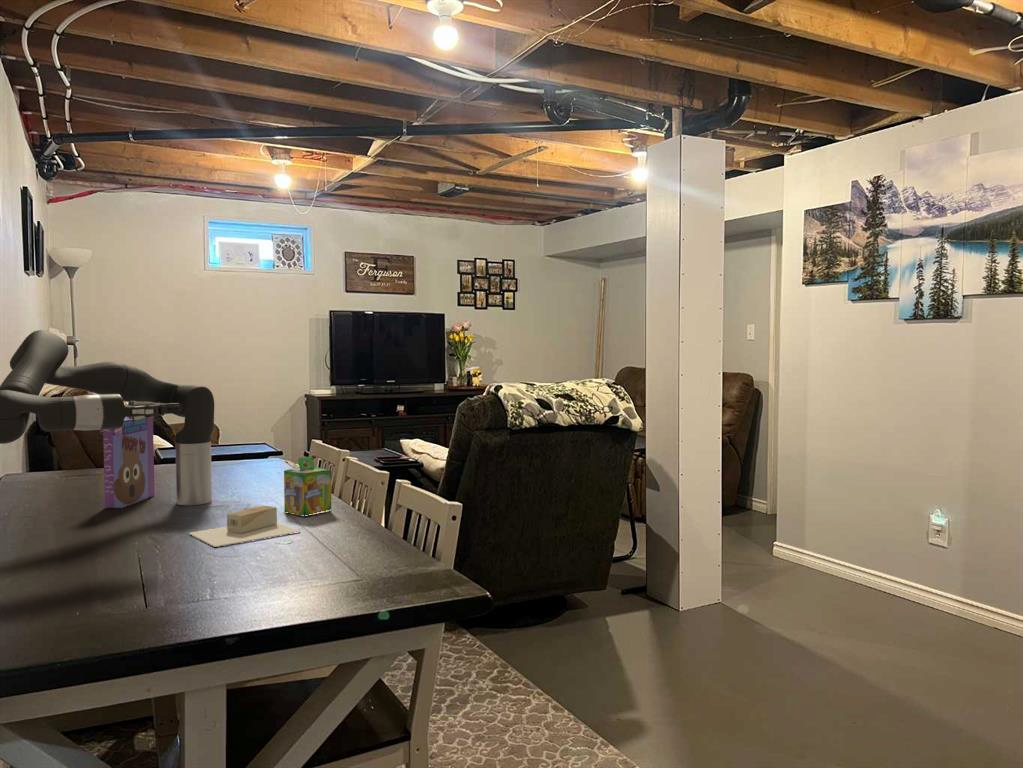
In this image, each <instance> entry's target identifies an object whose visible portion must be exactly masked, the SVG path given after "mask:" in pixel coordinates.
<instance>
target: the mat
mask: <svg viewBox="0 0 1023 768" xmlns="http://www.w3.org/2000/svg"><path fill="white" fill-rule="evenodd" d="M299 531H300V530H298V529H294V528H293V527H290V526H288V525H284V524H282V523H280V522H277V524H275V525H272V526H268V527H264V528H260V529H257V530H253V531H249V532H245V533H234V532H229V531H227V526H223V527H217V528H212V529H205V530H203V529H202V530H198V531H192V532H191V531H190V532H188V535H189V536H191V535H192V536H191V537H193V538H195V539H197V540H198V539H199V540H198V541H200V540H201V542H202V541H203V543H204V542H205V544H206V543H207V545H208V544H209V545H208V546H210V545H211V547H212V546H213V547H212V548H214V547H218V548H221V547H220V546H224V545H229V546H231V545H230V544H235V545H237V544H236V543H241V542H246V543H248V542H247V541H252V540H258V539H263V540H265V539H264V538H269V537H274V538H276V537H275V536H280V535H285V534H290V533H294V532H299ZM280 537H281V536H280ZM269 539H270V538H269ZM258 541H259V540H258ZM252 542H253V541H252ZM241 544H242V543H241ZM224 547H225V546H224Z"/></svg>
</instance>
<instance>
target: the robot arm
mask: <svg viewBox="0 0 1023 768" xmlns="http://www.w3.org/2000/svg"><path fill="white" fill-rule="evenodd" d="M68 355H69V346H68V343H67V342H66V341H65V340H64V339H63V338H62V337H61V336H59V335H58V334H56V333H53V332H51V331H49V330H45V329H38V330H34V331H33V332H32V331H31V333H29V334H28V335H27V336H26V337H25V338H24V340H23V341H22V343H21V344H20V345H19V347H17V349H16V351H15V352H14V353H13V355H12V356H11V358H10V361H9V366H10V369H11V371H10V372H9V373H8V375H6V377H5V378H4V379H3V381H2V383H1V384H0V445H5V444H10V443H11V444H12V443H13V442H15V441H17V440H19V439H20V438H21V437H22V436H23V435H24V434H25V432H26V429H27V426H28V424H29V420H30V415H31V414H34V415H36V416H37V421H38V425H39V427H40V429H41V430H42V431H44V432H62V431H64V432H65V431H98V430H99V431H100V430H103V429H116V428H121V427H122V426H123V424H124V419H125V418H127V417H129V419H132V420H140V419H142V418H153V419H154V418H155V417H163V416H165V415H175V416H177V417H181V418H184V424H183V427H182V428H181V429H180V430H179V431H178V430H177V432H175V436H174V439H175V440H174V441H175V442H174V443H175V485H176V486H175V487H176V488H175V492H176V493H175V497H176V499H175V501H176V502H175V503H176V505H179V506H198V505H204V504H205V503H206V504H209V503H212V501H213V499H212V497H213V495H212V491H213V490H212V485H213V484H212V441H211V439H212V434H213V431H214V427H215V399H214V394H213V392H212V391H211V390H210V388H208V387H207V386H204V385H196V384H195V385H194V384H192V385H191V384H178V383H173V382H172V383H171V382H167V381H164V380H159V379H157V378H156V377H154V376H152V375H150V373H147V372H146V371H144V370H143V369H140V368H138V367H134V366H131V365H129V364H125V363H122V362H118V361H103V362H102V361H101V362H96V363H91V364H84V365H78V366H77V365H76V366H73V365H64V362H65V360H66V359H67V357H68ZM46 384H47V385H53V386H59V387H64V388H65V387H66V388H70V389H76V390H80V391H85V392H88V393H93V394H83V395H75V396H56V397H55V396H54V397H53V396H52V397H50V396H43V395H40V393H41V392H42V390H43V388H44V385H46ZM125 402H126V403H128V404H124V403H125Z"/></svg>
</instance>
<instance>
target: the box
mask: <svg viewBox="0 0 1023 768" xmlns="http://www.w3.org/2000/svg"><path fill="white" fill-rule="evenodd" d="M277 511H278V510H277V507H276V506H272V505H271V506H269V505H260V506H256V507H251V508H247V509H243V510H238V511H233V512H230V513H227V514H226V527H227V531H229V532H234V533H245V532H249V531H253V530H257V529H260V528H264V527H268V526H272V525H275V524H277V523H278V517H277V516H278V512H277Z"/></svg>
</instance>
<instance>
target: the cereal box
mask: <svg viewBox="0 0 1023 768" xmlns="http://www.w3.org/2000/svg"><path fill="white" fill-rule="evenodd" d="M102 430H103V431H102V433H103V435H102V436H103V475H104V476H103V478H104V479H103V480H104V509H107V508H123V509H125V508H127V506H128V507H129V505H130V506H133V505H135V504H138V503H140V502H143V501H145V500H144V499H146V500H148V499H150V497H151V498H153V497H155V462H154V461H155V460H154V459H155V458H154V457H155V456H154V453H155V451H154V445H155V444H154V417H153V418H142V419H140V420H132V419H129V417H125V419H124V424H123V426H122V427H121V428H116V429H102ZM152 496H153V497H152ZM147 498H148V499H147ZM142 500H143V501H142ZM139 501H140V502H139ZM137 502H138V503H137ZM132 504H133V505H132ZM124 507H125V508H124Z"/></svg>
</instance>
